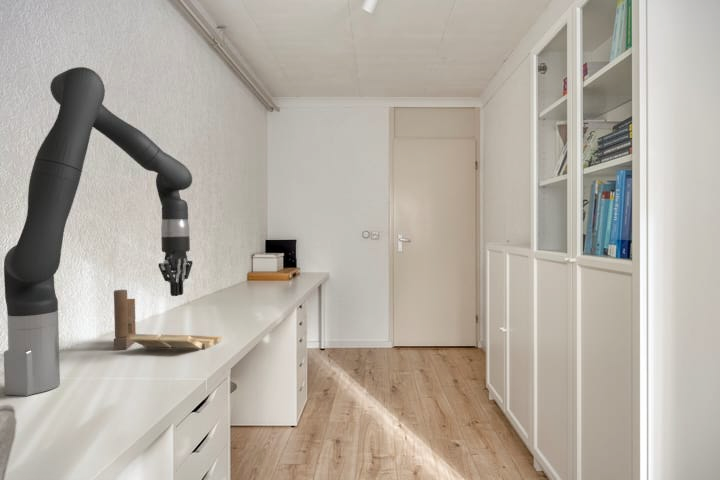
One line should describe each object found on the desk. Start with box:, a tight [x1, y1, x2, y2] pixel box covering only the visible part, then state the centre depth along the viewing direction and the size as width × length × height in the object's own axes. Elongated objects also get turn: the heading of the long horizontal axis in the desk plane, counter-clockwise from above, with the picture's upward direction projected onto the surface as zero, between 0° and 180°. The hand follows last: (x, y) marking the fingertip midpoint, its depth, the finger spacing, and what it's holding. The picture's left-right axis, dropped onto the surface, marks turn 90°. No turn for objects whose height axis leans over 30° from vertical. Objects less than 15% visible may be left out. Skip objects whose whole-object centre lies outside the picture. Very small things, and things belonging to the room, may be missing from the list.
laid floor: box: [148, 334, 222, 350], centre depth 139 cm, size 10×20×2 cm, turn 79°
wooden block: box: [113, 289, 137, 351], centre depth 138 cm, size 4×11×18 cm, turn 13°
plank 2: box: [160, 334, 202, 350], centre depth 129 cm, size 8×9×2 cm
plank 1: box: [129, 333, 172, 349], centre depth 131 cm, size 8×9×2 cm
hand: (177, 295), depth 127 cm, fingers closed
